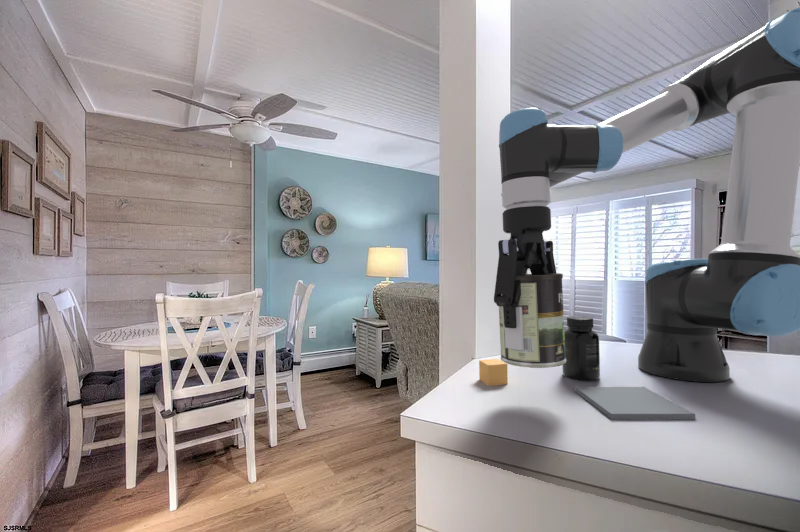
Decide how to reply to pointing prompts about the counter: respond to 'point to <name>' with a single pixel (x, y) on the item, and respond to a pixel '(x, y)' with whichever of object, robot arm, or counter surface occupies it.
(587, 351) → the supplement bottle
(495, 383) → the orange cube
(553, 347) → the coffee can
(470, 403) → the counter surface
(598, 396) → the slate mat
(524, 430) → the counter surface
